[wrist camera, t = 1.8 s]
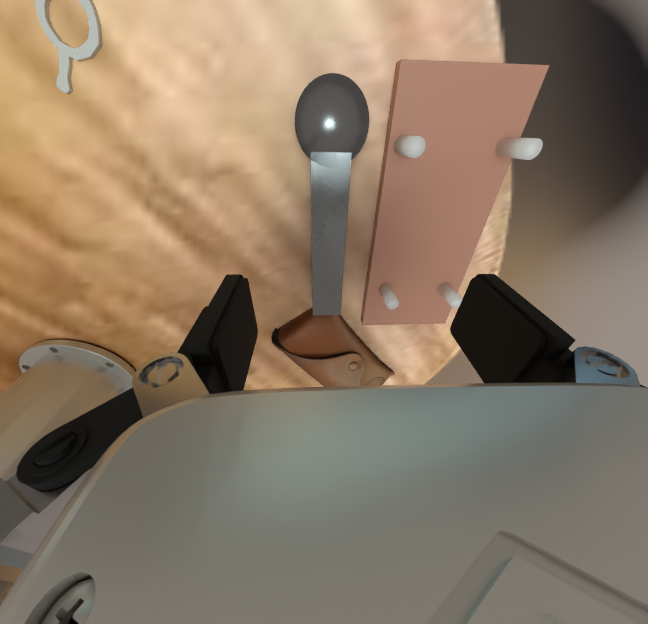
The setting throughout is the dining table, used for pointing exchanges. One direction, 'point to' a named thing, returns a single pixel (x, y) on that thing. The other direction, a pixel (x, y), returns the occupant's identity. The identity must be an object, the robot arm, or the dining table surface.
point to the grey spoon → (330, 175)
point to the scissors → (66, 51)
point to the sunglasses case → (330, 351)
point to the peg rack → (442, 180)
